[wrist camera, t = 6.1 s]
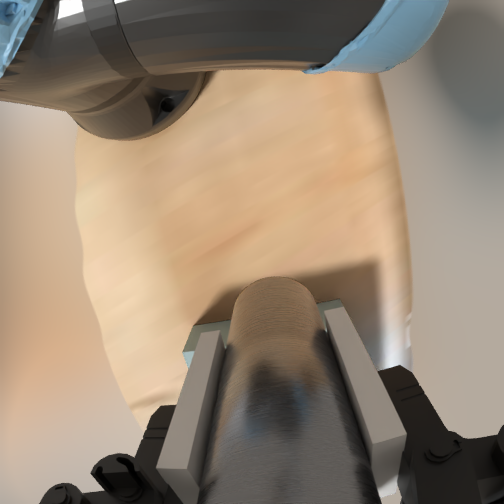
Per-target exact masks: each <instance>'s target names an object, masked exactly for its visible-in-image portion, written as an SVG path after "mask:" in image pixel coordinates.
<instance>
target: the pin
mask: <svg viewBox="0 0 504 504" xmlns="http://www.w3.org/2000/svg"><path fill="white" fill-rule="evenodd" d="M197 504H382V503H381V500H380V496H379V492H378V489H377V485H376V482H375V479H374V475H373V472H372V469H371V466H370V462H369V459H368V456H367V453H366V449H365V446H364V443H363V440H362V437H361V433H360V430H359V427H358V424H357V421H356V418H355V415H354V411H353V408H352V405H351V402H350V399H349V396H348V393H347V390H346V387H345V384H344V381H343V378H342V375H341V372H340V369H339V367H338V364H337V361H336V358H335V355H334V352H333V349H332V346H331V343H330V341H329V338H328V335H327V332H326V329H325V326H324V324H323V321H322V318H321V315H320V312H319V310H318V307H317V304H316V302H315V299H314V297H313V296H312V294H311V293H310V291H309V290H308V289H307V288H306V287H305V286H303V285H302V284H301V283H299V282H297V281H295V280H292V279H290V278H285V277H267V278H263V279H260V280H258V281H255V282H254V283H252V284H250V285H249V286H247V287H246V288H245V289H244V290H243V291H242V292H241V294H240V295H239V296H238V298H237V300H236V302H235V305H234V309H233V314H232V319H231V324H230V329H229V334H228V340H227V345H226V350H225V355H224V361H223V366H222V371H221V376H220V382H219V387H218V392H217V397H216V403H215V408H214V413H213V419H212V424H211V430H210V435H209V440H208V446H207V451H206V456H205V462H204V467H203V473H202V478H201V484H200V489H199V495H198V500H197Z"/></svg>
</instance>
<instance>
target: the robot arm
mask: <svg viewBox="0 0 504 504" xmlns="http://www.w3.org/2000/svg"><path fill="white" fill-rule="evenodd" d="M448 3H449V0H0V101H6V102H13V103H20V104H26V105H32V106H39V107H44V108H50V109H55V110H61V111H66V112H67V113H68V114H69V115H70V116H71V117H72V118H73V119H74V120H75V121H76V123H77V124H78V125H79V126H80V127H82V128H83V129H84V130H86V131H87V132H89V133H91V134H93V135H96V136H98V137H101V138H105V139H112V140H120V141H130V140H137V139H142V138H146V137H149V136H151V135H154V134H156V133H158V132H160V131H162V130H164V129H165V128H167V127H168V126H170V125H171V124H173V123H174V122H175V121H176V120H178V119H179V118H180V117H181V116H182V115H183V114H184V113H185V112H186V111H187V109H188V108H189V107H190V106H191V104H192V103H193V101H194V100H195V98H196V97H197V95H198V93H199V91H200V89H201V87H202V84H203V81H204V78H205V74H206V71H214V70H243V69H272V70H300V71H302V72H304V73H305V74H320V73H324V72H327V71H343V72H358V73H379V72H384V71H387V70H390V69H391V68H393V67H394V66H396V65H397V64H400V63H403V62H405V61H407V60H408V59H410V58H411V57H412V56H413V55H414V54H416V53H417V52H418V51H419V50H420V49H421V48H422V46H423V45H424V44H425V43H426V42H427V41H428V39H429V38H430V37H431V35H432V34H433V32H434V31H435V29H436V28H437V26H438V24H439V22H440V21H441V19H442V17H443V15H444V12H445V10H446V7H447V5H448ZM324 314H325V322H326V329H327V335H328V338H329V341H330V343H331V346H332V349H333V352H334V355H335V358H336V361H337V364H338V367H339V369H340V372H341V375H342V378H343V381H344V384H345V387H346V390H347V393H348V396H349V399H350V402H351V405H352V408H353V411H354V415H355V418H356V421H357V424H358V427H359V430H360V433H361V437H362V440H363V443H364V446H365V449H366V453H367V456H368V459H369V462H370V466H371V469H372V472H373V475H374V479H375V482H376V485H377V489H378V492H379V496H380V498H381V497H385V496H388V495H391V494H395V493H396V490H397V485H398V487H399V490H400V493H401V496H402V499H401V502H400V504H504V425H503V426H502V427H501V429H500V431H499V433H498V435H493V436H487V437H482V438H473V439H467V438H463V437H461V436H460V435H458V434H457V433H455V432H452V431H448V430H447V428H446V427H445V426H444V424H443V422H442V421H441V419H440V417H439V416H438V414H437V412H436V411H435V409H434V407H433V406H432V404H431V402H430V401H429V399H428V397H427V396H426V395H425V394H424V391H423V389H422V388H421V386H419V383H418V381H417V380H416V378H415V376H414V375H413V373H412V372H410V371H409V370H407V369H406V368H404V367H402V366H401V365H398V366H395V367H392V368H388V369H384V370H381V371H377V370H376V368H375V366H374V364H373V362H372V360H371V358H370V356H369V354H368V352H367V350H366V348H365V347H364V345H363V343H362V341H361V339H360V337H359V335H358V333H357V331H356V329H355V327H354V325H353V323H352V321H351V320H350V318H349V316H348V314H347V312H346V310H345V308H344V307H340V308H335V309H330V310H326V311H324ZM225 350H226V348H225V345H224V342H223V338H222V335H221V332H220V330H217V331H210V332H204V333H201V335H200V337H199V340H198V343H197V346H196V349H195V352H194V355H193V358H192V361H191V364H190V367H189V369H188V372H187V375H186V378H185V381H184V384H183V387H182V390H181V393H180V396H179V399H178V402H177V405H165V406H160V407H159V408H158V409H157V411H156V412H155V413H154V414H153V415H152V416H151V418H150V420H149V423H148V425H147V430H145V433H144V435H143V439H142V440H141V443H140V445H139V448H138V450H137V453H136V456H135V458H134V457H132V456H130V455H128V454H121V453H118V454H113V455H108V456H107V457H105V458H103V459H101V460H100V461H99V462H98V463H97V464H96V465H95V466H94V467H93V469H92V471H91V475H92V476H93V477H94V478H95V479H96V481H97V482H98V483H99V484H100V485H101V486H102V488H103V489H104V490H105V491H98V492H90V493H82V492H81V491H80V490H79V489H78V488H77V487H76V486H74V485H72V484H70V483H61V484H57V485H55V486H53V487H51V488H50V489H49V490H48V491H47V492H46V494H45V495H44V497H43V498H42V500H41V502H40V503H39V504H197V500H198V495H199V489H200V484H201V478H202V473H203V467H204V462H205V456H206V451H207V446H208V440H209V435H210V430H211V424H212V419H213V413H214V408H215V403H216V397H217V392H218V387H219V382H220V376H221V371H222V366H223V361H224V355H225Z"/></svg>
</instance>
